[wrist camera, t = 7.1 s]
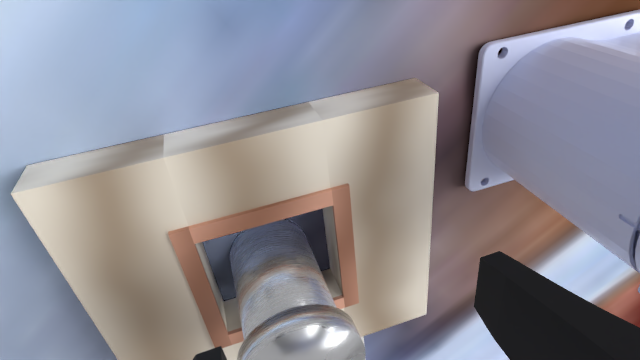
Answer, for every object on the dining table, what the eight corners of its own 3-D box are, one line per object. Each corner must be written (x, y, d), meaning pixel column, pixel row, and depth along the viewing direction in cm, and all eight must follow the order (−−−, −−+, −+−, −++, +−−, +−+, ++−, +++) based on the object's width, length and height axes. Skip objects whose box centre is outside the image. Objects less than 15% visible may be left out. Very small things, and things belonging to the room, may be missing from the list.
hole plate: (415, 77, 19) (441, 94, 17) (410, 290, 26) (428, 316, 25) (27, 165, 15) (8, 196, 14) (151, 376, 23) (150, 414, 21)
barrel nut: (323, 212, 21) (379, 320, 15) (304, 284, 23) (348, 401, 17) (226, 212, 19) (249, 332, 14) (216, 289, 21) (233, 421, 16)
